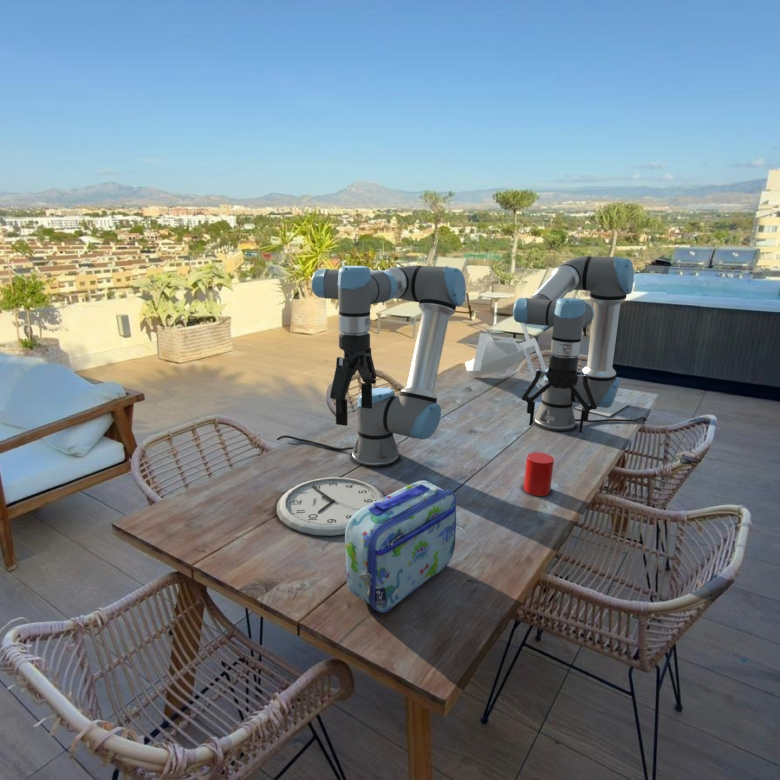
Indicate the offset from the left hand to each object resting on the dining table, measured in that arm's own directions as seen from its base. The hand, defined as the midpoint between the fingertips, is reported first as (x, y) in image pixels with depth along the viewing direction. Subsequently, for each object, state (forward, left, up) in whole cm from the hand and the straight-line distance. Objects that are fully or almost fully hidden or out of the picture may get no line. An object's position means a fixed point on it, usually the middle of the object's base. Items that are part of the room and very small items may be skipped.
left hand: (354, 415), depth 131 cm
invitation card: (+56, +123, -27) cm, 138 cm away
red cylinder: (+42, +34, -27) cm, 61 cm away
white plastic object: (+10, +140, -27) cm, 143 cm away
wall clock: (-7, 0, -27) cm, 28 cm away
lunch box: (+23, -22, -27) cm, 42 cm away
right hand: (+45, +38, -9) cm, 59 cm away
